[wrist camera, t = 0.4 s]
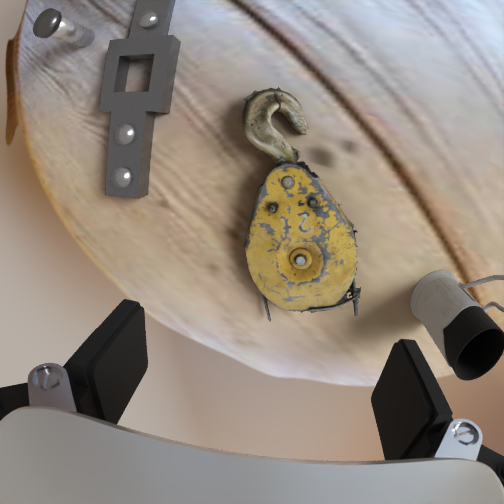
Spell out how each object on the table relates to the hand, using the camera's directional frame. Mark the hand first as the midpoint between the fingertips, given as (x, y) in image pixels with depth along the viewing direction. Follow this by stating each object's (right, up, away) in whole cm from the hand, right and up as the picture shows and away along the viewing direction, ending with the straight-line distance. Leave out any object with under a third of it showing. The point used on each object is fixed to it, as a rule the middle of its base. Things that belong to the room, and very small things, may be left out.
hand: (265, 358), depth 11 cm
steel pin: (-25, +35, +23) cm, 48 cm away
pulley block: (+5, +10, +29) cm, 31 cm away
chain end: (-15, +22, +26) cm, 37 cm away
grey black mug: (+29, -1, +30) cm, 42 cm away
